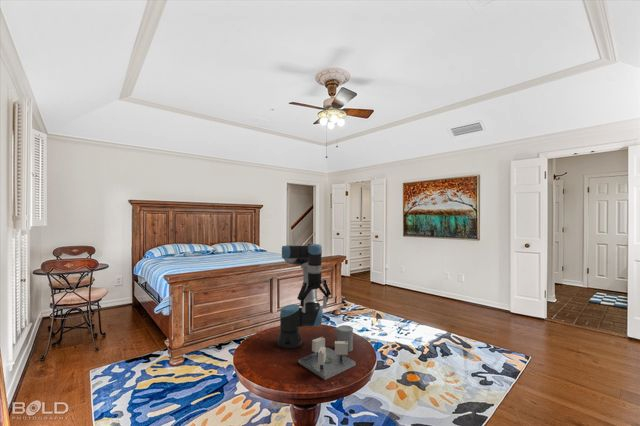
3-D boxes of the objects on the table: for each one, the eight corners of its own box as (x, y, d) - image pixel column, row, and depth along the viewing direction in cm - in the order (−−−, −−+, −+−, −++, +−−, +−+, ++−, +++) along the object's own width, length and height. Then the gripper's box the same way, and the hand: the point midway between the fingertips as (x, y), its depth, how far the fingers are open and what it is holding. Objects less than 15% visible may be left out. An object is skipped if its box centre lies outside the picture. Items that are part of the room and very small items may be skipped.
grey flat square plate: (298, 362, 167) (298, 357, 167) (328, 350, 181) (328, 345, 181) (325, 379, 150) (325, 373, 150) (355, 365, 164) (355, 359, 164)
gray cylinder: (352, 352, 179) (352, 332, 179) (335, 351, 181) (336, 330, 181) (353, 345, 188) (353, 325, 188) (338, 344, 190) (338, 324, 190)
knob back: (315, 358, 168) (315, 340, 168) (312, 356, 170) (312, 338, 170) (324, 354, 172) (325, 337, 172) (321, 352, 174) (321, 335, 174)
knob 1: (320, 363, 162) (320, 345, 162) (325, 364, 161) (325, 345, 161) (317, 370, 155) (317, 351, 155) (323, 371, 154) (323, 351, 154)
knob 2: (334, 359, 166) (334, 342, 166) (334, 357, 169) (334, 339, 169) (347, 360, 166) (347, 342, 165) (347, 357, 169) (347, 340, 168)
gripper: (297, 276, 160) (297, 316, 161) (337, 271, 172) (336, 308, 173) (291, 273, 166) (291, 311, 167) (330, 268, 179) (329, 304, 180)
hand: (314, 309), depth 170 cm, fingers open, 13 cm apart
